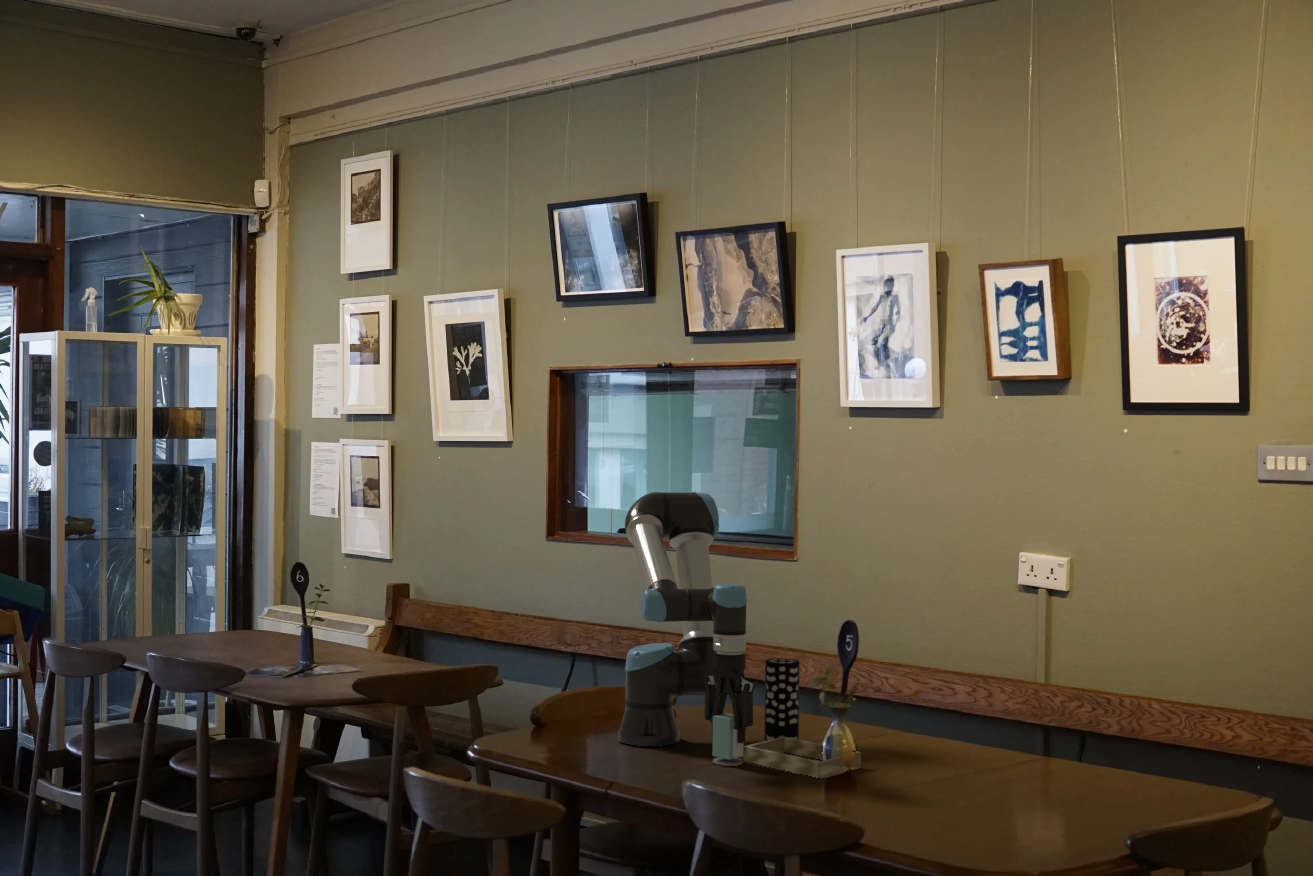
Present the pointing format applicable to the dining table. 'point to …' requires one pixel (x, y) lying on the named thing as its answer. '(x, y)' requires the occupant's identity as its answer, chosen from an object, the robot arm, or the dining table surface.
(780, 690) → the white-spotted black cylinder
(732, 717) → the block
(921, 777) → the dining table surface
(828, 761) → the tray
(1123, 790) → the dining table surface
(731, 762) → the coaster
